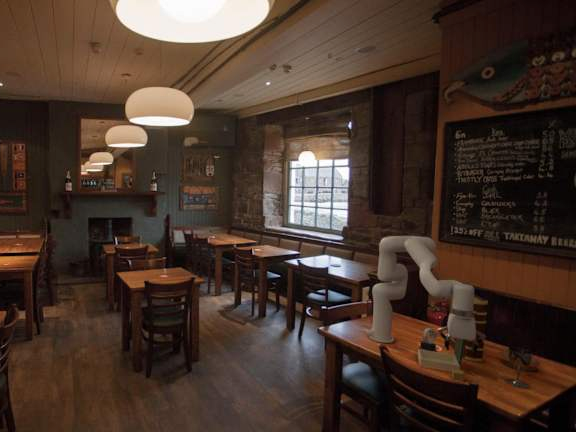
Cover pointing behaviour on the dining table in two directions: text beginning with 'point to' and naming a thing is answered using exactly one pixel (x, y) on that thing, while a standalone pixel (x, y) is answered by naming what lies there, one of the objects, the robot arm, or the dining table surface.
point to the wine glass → (519, 363)
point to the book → (437, 360)
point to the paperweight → (458, 375)
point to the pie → (505, 358)
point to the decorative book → (480, 322)
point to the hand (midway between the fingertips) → (460, 350)
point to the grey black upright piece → (429, 344)
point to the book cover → (459, 349)
